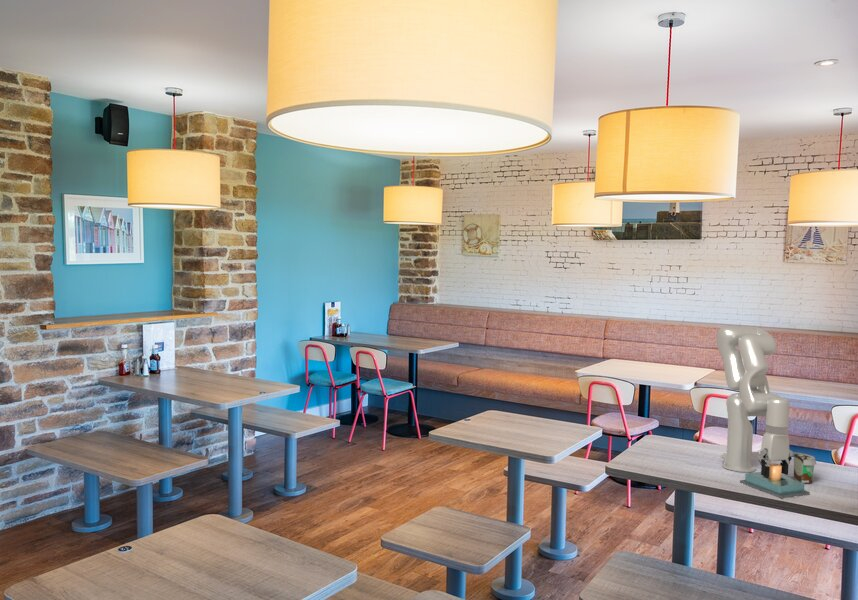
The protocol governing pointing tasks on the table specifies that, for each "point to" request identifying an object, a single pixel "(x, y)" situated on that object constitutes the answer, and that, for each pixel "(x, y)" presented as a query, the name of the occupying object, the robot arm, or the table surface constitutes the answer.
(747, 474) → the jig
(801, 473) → the food container
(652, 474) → the table surface
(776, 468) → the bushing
